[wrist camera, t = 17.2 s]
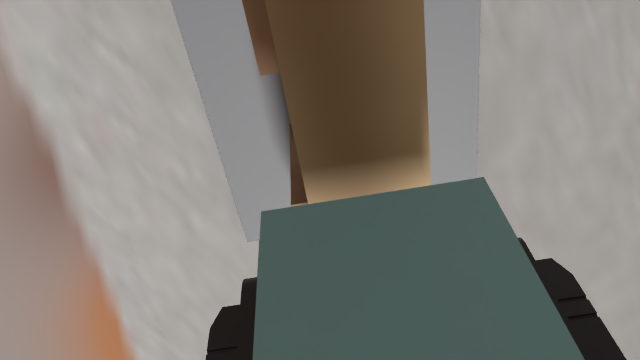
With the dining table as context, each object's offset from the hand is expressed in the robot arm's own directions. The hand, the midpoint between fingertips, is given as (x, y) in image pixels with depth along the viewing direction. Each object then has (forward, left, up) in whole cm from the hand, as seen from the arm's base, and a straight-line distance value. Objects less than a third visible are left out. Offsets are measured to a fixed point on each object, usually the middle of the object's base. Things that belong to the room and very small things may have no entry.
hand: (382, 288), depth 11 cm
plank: (0, 0, -7) cm, 7 cm away
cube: (0, 0, 0) cm, 0 cm away
